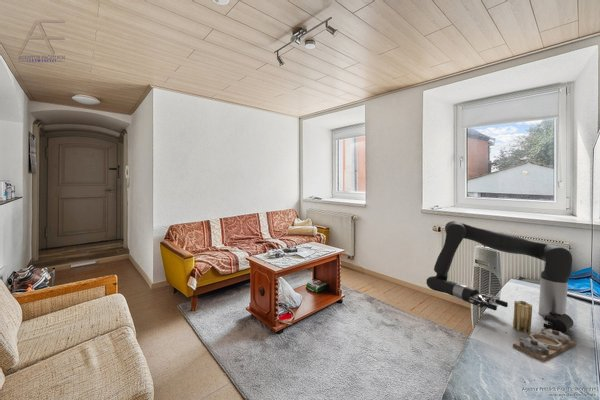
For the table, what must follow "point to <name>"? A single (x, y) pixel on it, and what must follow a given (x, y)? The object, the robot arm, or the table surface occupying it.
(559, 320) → the end cap
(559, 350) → the gear board
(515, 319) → the pinion
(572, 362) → the table surface
